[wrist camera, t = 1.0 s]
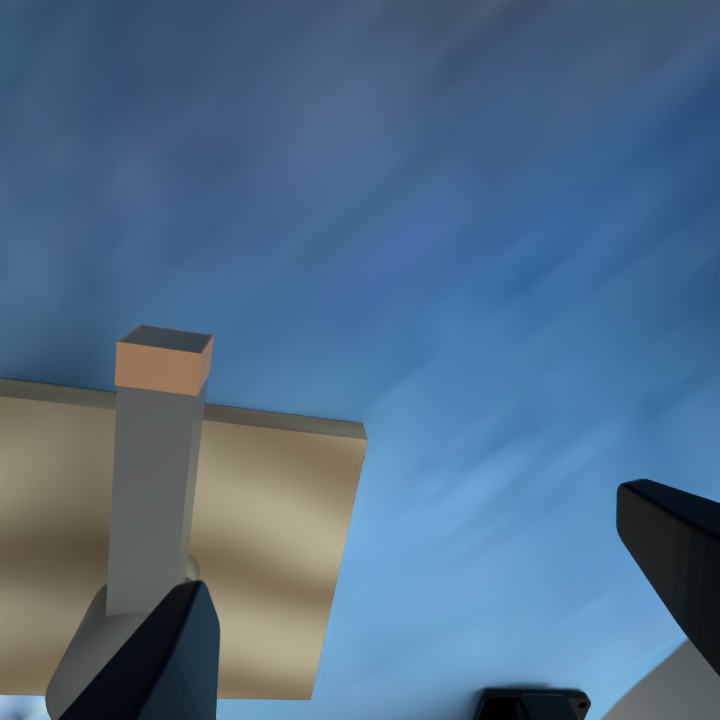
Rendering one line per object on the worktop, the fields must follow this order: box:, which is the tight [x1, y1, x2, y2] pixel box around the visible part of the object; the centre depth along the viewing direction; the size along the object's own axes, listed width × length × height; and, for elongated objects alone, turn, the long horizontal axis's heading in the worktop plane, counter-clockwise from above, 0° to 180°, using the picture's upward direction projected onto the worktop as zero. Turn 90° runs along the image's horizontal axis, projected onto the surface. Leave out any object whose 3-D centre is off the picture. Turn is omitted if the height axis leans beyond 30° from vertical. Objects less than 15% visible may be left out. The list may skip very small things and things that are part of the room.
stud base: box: [0, 378, 368, 700], centre depth 19 cm, size 14×14×4 cm
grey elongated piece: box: [45, 324, 214, 720], centre depth 14 cm, size 13×4×3 cm, turn 169°
